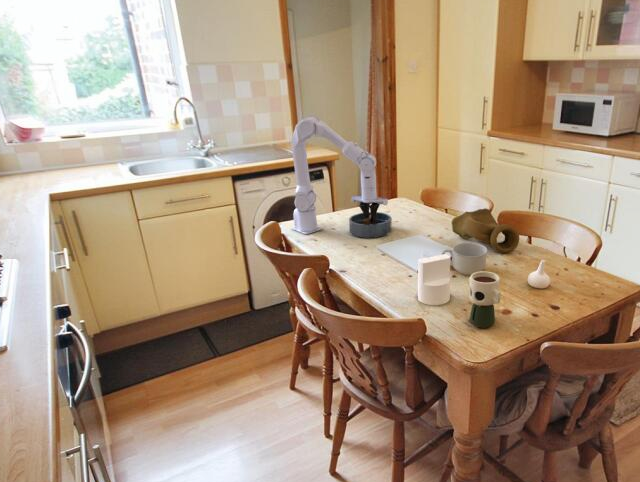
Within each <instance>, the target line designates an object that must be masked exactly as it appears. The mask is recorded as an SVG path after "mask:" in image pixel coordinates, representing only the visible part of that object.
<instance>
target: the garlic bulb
mask: <svg viewBox="0 0 640 482" xmlns="http://www.w3.org/2000/svg"><path fill="white" fill-rule="evenodd" d="M545 263H546V260H545V259H540V262H539V264H538V268H537V269H536V270H534V271H532V272H530V273H529V274H528V276H527V283H528V285H529V286H531V287H533V288H535V289H546V288H548V287H549V285H550V283H551V278H550V277H549V275H548V274H547V273H546V272H545Z"/></svg>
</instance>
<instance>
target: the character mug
mask: <svg viewBox="0 0 640 482" xmlns="http://www.w3.org/2000/svg"><path fill="white" fill-rule="evenodd" d="M500 284H501V278H500V276H499V275H498V274H496V273H495V272H492V271H488V270H487V271H484V270H482V271H480V272H475V273H473V274H472V275H471V276H469V278H468V287H469V290H468V291H469V292H468V296H469V297H468V298H469V300H470V302H471V303H472V304H471V310H470V315H469V322H470V324H472V323H473V326H474V327H477V328H485V329H486V328H488V327H492V326H493V325H494V324H495V322H496V315H495V314H496V312H495V304H500V303H501V296H502V292H501V291H500V286H501V285H500Z"/></svg>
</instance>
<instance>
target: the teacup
mask: <svg viewBox="0 0 640 482" xmlns="http://www.w3.org/2000/svg"><path fill="white" fill-rule="evenodd" d="M446 253H449V254H450V257H451V259H452V260H451V259H450V267H452V268H453V269H454V270H455V271H456V272H457V273H459V274H461V275H463V276H468V277H470V276H471V275H472V274H473V273H475V272H480V271H484V269H485V268H486V264H487V254H488V248H487V247H486V246H485V245H483V244H481V243H477V242H471V241H464V242H459V243H456V244H454V245H453V246H452V248H449V247H446V248H444V249H442V251H441V254H440V255H443V254H446Z"/></svg>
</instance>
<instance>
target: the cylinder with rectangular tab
mask: <svg viewBox="0 0 640 482" xmlns="http://www.w3.org/2000/svg"><path fill="white" fill-rule="evenodd" d="M450 260H451V256H450V255H448V254H446V253H445V254H443V255H441V254H438V255H434V256H429V257H425V258H424V257H423V258H419V259H417V300H418V302H420V303H422V304H424V305H428V306H442V305H445V304H447V303H448V302H449V301H450V299H451V298H450V297H451V265H450Z"/></svg>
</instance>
